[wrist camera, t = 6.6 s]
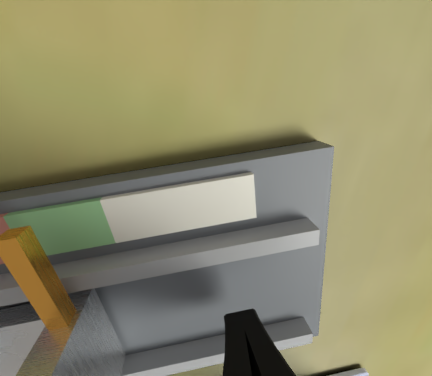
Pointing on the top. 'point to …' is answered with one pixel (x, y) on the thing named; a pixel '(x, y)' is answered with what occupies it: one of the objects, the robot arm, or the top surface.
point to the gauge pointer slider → (52, 320)
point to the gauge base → (188, 250)
